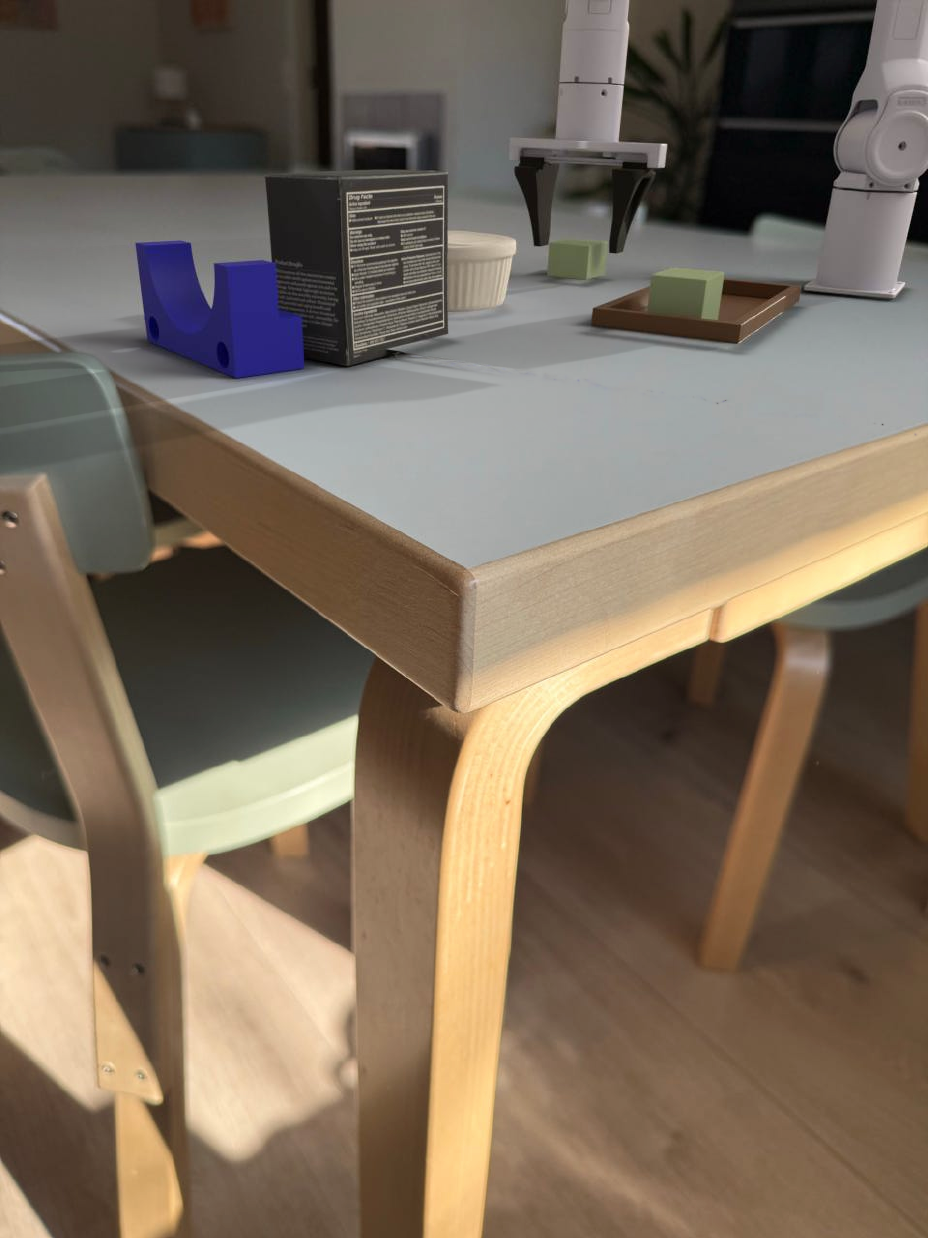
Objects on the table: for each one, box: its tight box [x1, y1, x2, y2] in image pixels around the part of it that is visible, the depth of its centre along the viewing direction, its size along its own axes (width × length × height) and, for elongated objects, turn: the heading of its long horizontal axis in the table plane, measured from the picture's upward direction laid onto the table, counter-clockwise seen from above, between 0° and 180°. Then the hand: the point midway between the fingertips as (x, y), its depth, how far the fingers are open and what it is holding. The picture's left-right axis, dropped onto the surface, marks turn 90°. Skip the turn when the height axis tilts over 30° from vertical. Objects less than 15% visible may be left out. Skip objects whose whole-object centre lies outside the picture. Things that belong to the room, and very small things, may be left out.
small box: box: [264, 169, 449, 367], centre depth 60 cm, size 11×6×10 cm, turn 145°
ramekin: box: [447, 230, 517, 312], centre depth 75 cm, size 11×11×5 cm
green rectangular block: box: [647, 266, 726, 320], centre depth 69 cm, size 5×4×4 cm
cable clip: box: [134, 240, 305, 379], centre depth 58 cm, size 12×4×6 cm, turn 40°
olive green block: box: [546, 237, 609, 281], centre depth 91 cm, size 5×4×4 cm
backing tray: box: [590, 277, 802, 345], centre depth 74 cm, size 22×11×2 cm, turn 152°
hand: (577, 248), depth 90 cm, fingers open, 7 cm apart
